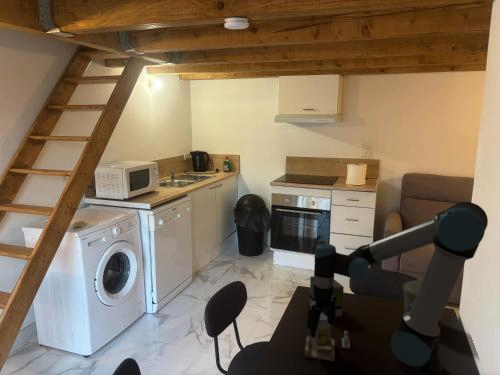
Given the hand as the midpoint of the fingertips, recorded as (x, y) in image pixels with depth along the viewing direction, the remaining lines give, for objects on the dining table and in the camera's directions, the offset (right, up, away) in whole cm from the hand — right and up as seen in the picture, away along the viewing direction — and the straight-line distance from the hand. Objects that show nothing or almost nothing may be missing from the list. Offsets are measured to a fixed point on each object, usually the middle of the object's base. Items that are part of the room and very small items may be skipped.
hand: (320, 341), depth 145 cm
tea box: (+9, +1, +33) cm, 34 cm away
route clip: (+11, -3, +6) cm, 13 cm away
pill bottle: (0, -1, 0) cm, 1 cm away
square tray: (0, -4, +1) cm, 4 cm away
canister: (+49, -2, +22) cm, 54 cm away
